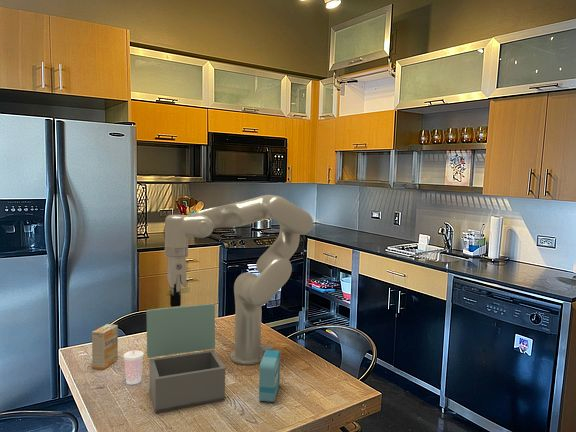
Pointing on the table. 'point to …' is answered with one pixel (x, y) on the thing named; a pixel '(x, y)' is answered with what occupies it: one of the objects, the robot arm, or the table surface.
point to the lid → (180, 329)
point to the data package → (269, 375)
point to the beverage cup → (133, 366)
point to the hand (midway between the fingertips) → (175, 305)
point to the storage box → (186, 381)
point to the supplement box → (104, 346)
